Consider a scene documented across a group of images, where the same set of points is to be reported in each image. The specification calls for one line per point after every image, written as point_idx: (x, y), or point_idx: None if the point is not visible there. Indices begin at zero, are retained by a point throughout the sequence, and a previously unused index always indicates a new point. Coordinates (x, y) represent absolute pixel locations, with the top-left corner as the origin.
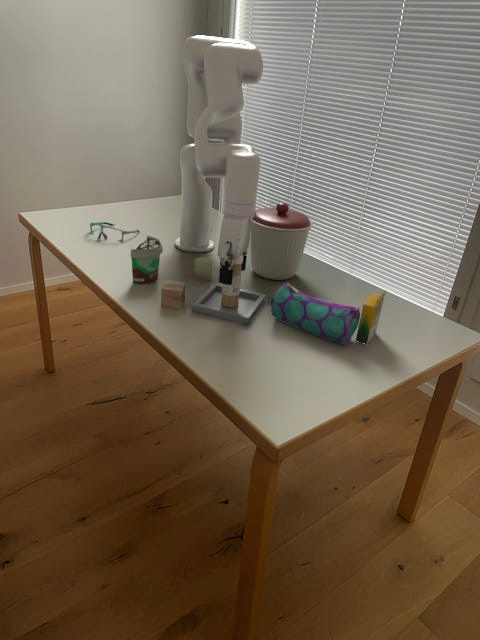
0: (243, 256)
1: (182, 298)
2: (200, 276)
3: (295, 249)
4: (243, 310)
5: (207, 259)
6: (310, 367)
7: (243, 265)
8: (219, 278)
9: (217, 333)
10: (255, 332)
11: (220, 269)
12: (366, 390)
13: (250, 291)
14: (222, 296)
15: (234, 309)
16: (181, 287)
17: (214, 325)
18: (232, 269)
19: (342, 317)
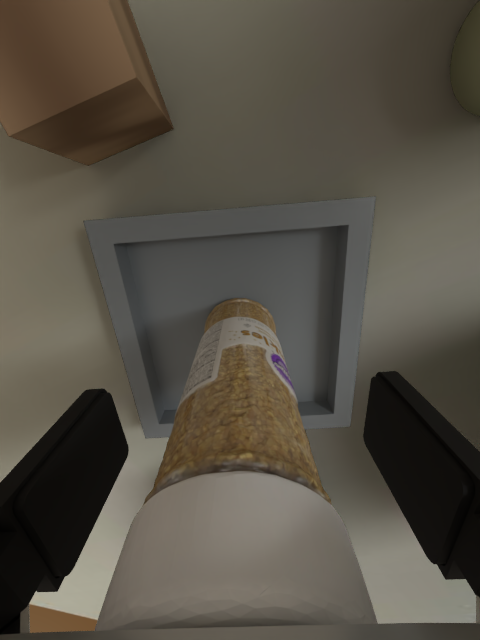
0: (443, 557)
1: (74, 145)
2: (472, 46)
3: None
4: None
5: None
6: (86, 553)
7: (384, 470)
8: (70, 411)
9: (46, 368)
10: (134, 443)
11: (6, 487)
12: (92, 611)
13: (353, 376)
14: (210, 322)
15: None
16: (48, 95)
17: (80, 340)
18: (43, 589)
19: None
